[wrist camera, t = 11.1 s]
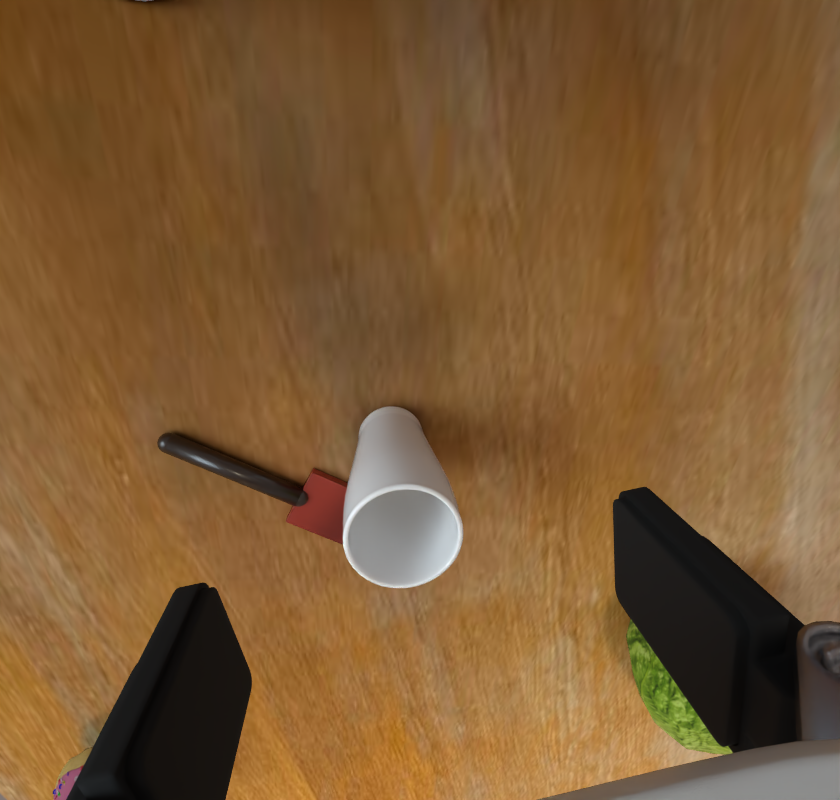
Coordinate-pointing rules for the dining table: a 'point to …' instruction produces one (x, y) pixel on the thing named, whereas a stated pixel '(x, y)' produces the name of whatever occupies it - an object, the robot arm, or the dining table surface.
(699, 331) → the dining table surface
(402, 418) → the drinking glass
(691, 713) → the lettuce
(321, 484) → the spatula
